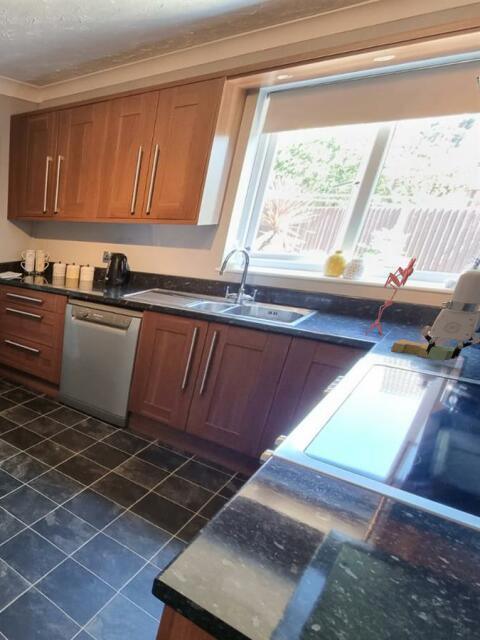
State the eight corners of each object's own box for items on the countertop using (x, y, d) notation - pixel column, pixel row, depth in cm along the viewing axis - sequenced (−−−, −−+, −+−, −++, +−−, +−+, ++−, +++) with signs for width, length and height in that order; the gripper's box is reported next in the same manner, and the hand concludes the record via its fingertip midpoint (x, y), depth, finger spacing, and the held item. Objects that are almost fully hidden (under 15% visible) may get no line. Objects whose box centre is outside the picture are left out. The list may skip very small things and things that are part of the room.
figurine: (361, 336, 195) (393, 257, 182) (364, 327, 212) (393, 255, 199) (407, 343, 185) (444, 261, 172) (406, 334, 203) (439, 258, 190)
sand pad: (434, 354, 170) (438, 346, 169) (428, 358, 164) (432, 349, 163) (397, 347, 178) (401, 339, 177) (390, 350, 172) (394, 342, 171)
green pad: (425, 357, 155) (429, 348, 154) (432, 353, 161) (436, 344, 159) (447, 361, 151) (451, 352, 149) (453, 357, 156) (457, 348, 155)
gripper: (426, 304, 154) (406, 351, 161) (498, 312, 141) (473, 364, 148) (431, 302, 158) (411, 349, 165) (501, 310, 145) (476, 360, 152)
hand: (440, 355), depth 156 cm, fingers closed on green pad, 5 cm apart
